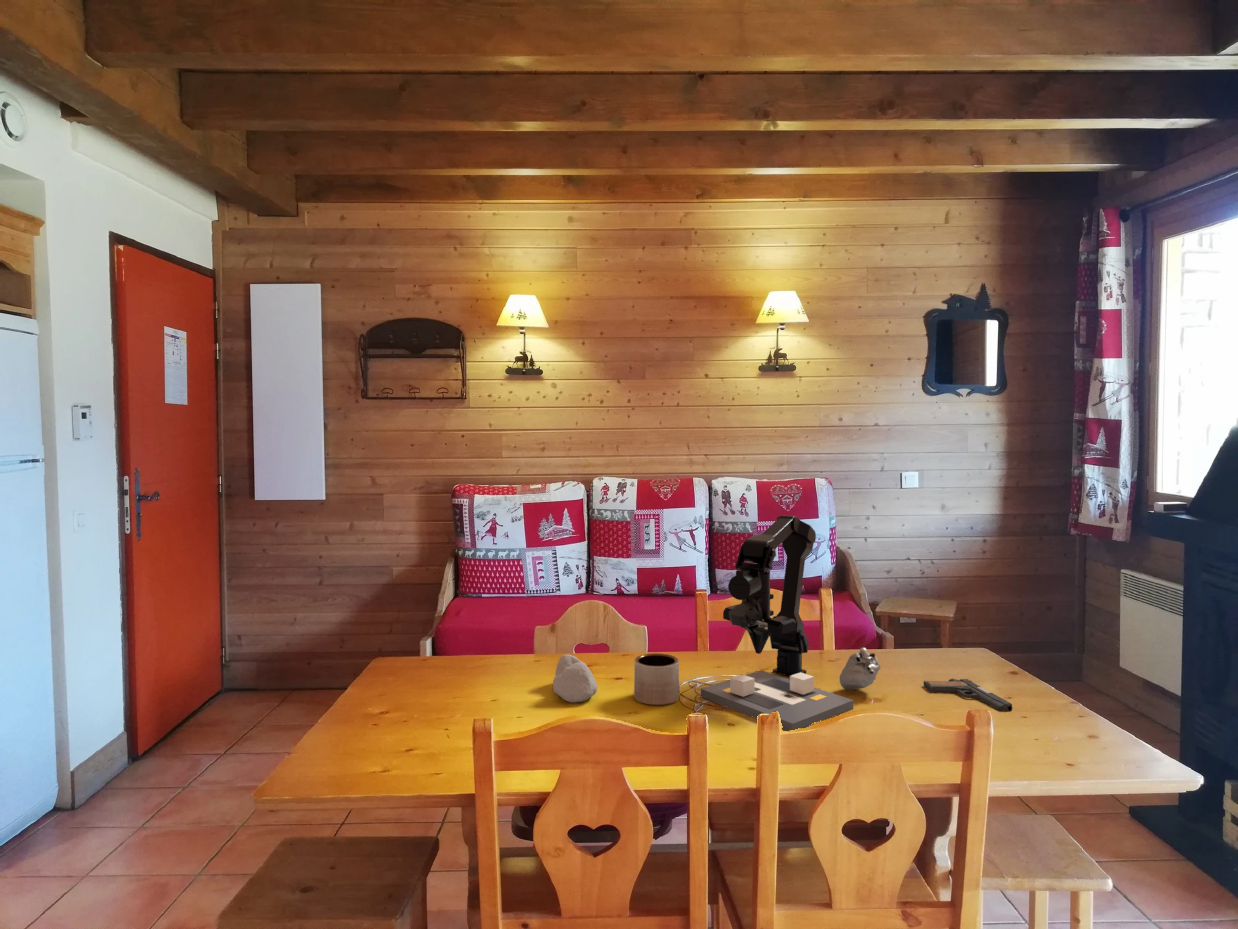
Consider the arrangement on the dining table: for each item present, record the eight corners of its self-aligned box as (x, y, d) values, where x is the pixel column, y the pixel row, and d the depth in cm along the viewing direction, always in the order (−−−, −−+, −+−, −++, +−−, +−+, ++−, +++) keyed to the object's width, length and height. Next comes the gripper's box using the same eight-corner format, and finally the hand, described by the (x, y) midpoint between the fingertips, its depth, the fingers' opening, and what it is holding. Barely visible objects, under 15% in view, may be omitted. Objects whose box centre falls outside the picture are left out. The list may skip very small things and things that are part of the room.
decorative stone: (605, 692, 186) (581, 659, 186) (571, 719, 185) (547, 685, 184) (594, 674, 203) (572, 644, 203) (563, 698, 202) (541, 668, 201)
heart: (880, 684, 198) (872, 637, 198) (887, 697, 189) (878, 648, 188) (839, 689, 199) (831, 643, 199) (844, 702, 190) (836, 654, 190)
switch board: (761, 677, 204) (761, 669, 204) (853, 708, 183) (853, 699, 182) (700, 696, 191) (700, 687, 191) (792, 732, 169) (792, 722, 169)
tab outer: (741, 688, 190) (741, 674, 189) (754, 693, 186) (754, 678, 186) (730, 692, 187) (730, 677, 187) (742, 696, 184) (743, 682, 184)
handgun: (967, 719, 179) (1014, 713, 181) (968, 709, 179) (1014, 703, 181) (919, 688, 198) (962, 683, 200) (919, 679, 198) (962, 674, 200)
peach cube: (800, 686, 191) (800, 672, 190) (813, 691, 188) (814, 676, 187) (789, 690, 188) (790, 675, 188) (803, 694, 185) (803, 680, 185)
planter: (676, 708, 183) (676, 668, 183) (630, 705, 186) (630, 665, 185) (681, 692, 194) (681, 654, 193) (638, 689, 196) (638, 651, 196)
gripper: (707, 589, 193) (708, 651, 194) (766, 604, 179) (766, 670, 180) (738, 582, 200) (738, 642, 201) (797, 595, 186) (797, 659, 187)
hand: (758, 653), depth 192 cm, fingers closed
